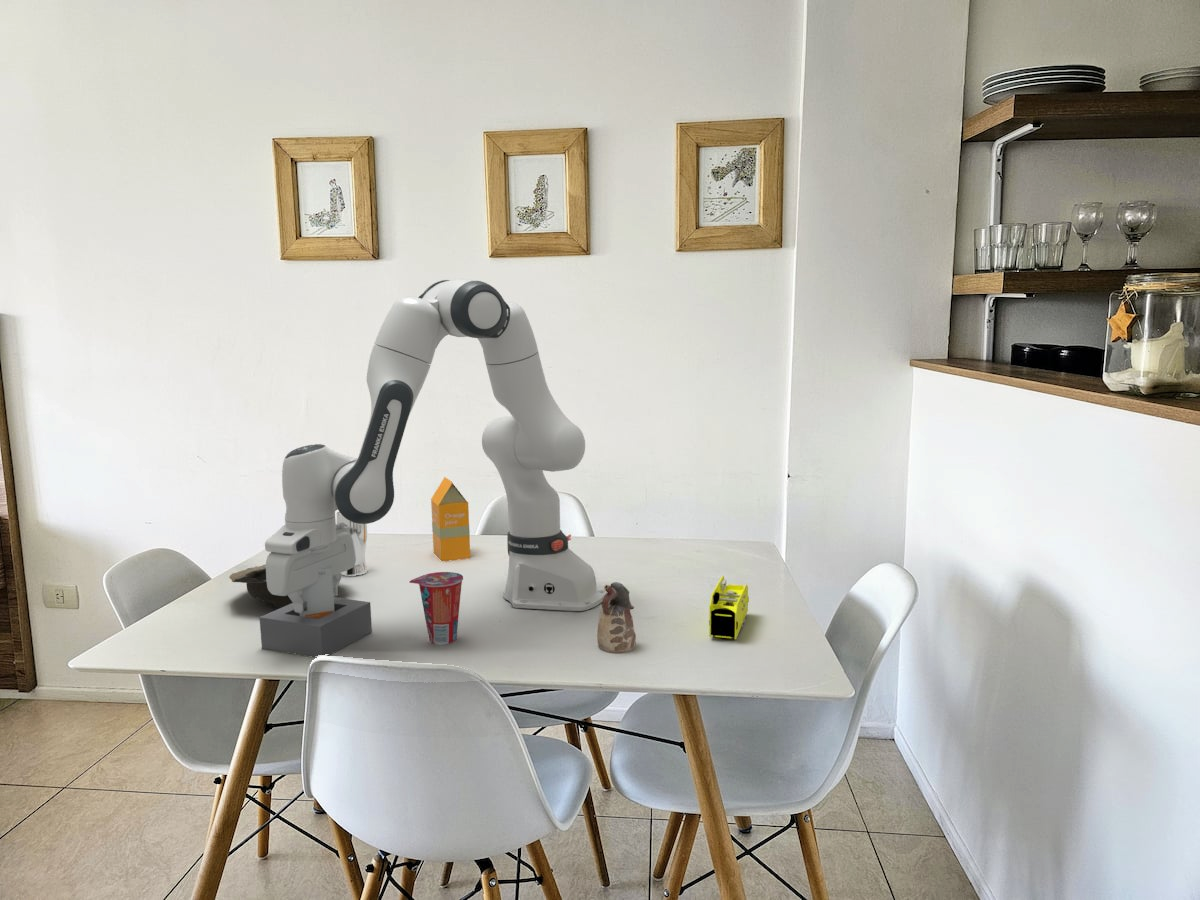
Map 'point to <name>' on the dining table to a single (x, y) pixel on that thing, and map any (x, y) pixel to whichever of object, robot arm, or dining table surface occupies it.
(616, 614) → the figurine
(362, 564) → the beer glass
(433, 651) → the dining table surface
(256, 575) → the stone bowl
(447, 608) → the cup
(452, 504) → the orange juice
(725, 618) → the yellow toy chassis
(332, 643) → the mount block
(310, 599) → the skincare box
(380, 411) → the robot arm
